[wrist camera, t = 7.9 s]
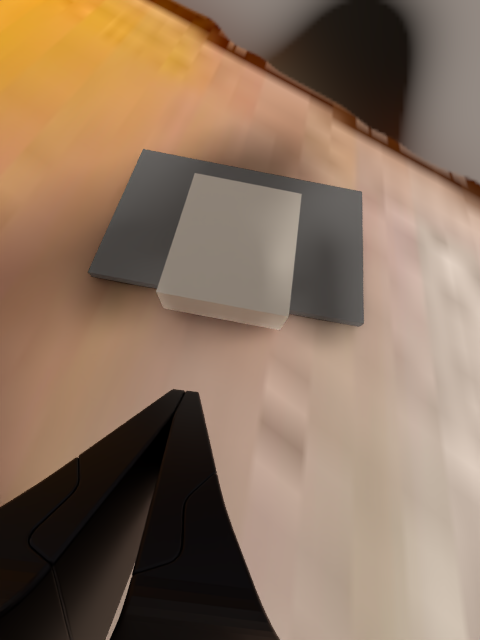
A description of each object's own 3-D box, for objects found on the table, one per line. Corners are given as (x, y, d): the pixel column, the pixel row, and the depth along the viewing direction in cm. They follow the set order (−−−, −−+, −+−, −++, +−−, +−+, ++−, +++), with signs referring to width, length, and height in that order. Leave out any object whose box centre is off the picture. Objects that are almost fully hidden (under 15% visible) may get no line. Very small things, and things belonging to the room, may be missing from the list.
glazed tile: (288, 316, 16) (301, 193, 20) (156, 291, 16) (194, 173, 19) (278, 331, 18) (292, 219, 22) (164, 310, 18) (197, 201, 22)
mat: (359, 326, 20) (363, 323, 19) (91, 276, 19) (87, 272, 19) (358, 197, 25) (361, 191, 24) (144, 155, 24) (143, 149, 24)
